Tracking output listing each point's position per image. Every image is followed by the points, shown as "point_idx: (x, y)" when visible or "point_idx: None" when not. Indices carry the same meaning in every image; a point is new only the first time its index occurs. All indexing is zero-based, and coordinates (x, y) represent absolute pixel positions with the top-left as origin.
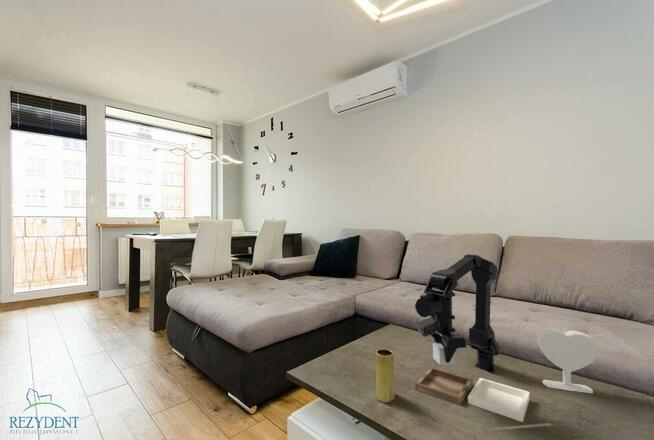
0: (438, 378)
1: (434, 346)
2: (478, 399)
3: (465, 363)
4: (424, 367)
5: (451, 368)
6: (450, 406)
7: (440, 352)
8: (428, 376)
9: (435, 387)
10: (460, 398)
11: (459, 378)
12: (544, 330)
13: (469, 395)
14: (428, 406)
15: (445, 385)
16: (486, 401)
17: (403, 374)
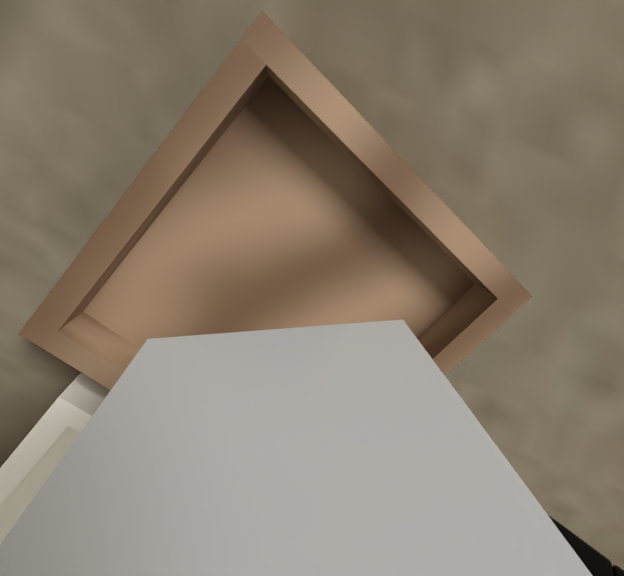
0: (407, 299)
1: (406, 527)
2: (30, 447)
3: (561, 521)
4: (602, 258)
5: (530, 430)
6: (58, 247)
7: (26, 548)
8: (417, 222)
9: (283, 228)
10: (31, 339)
11: None
12: None
13: (76, 413)
14: (33, 69)
15: (306, 312)
16: (14, 482)
17: (554, 20)
